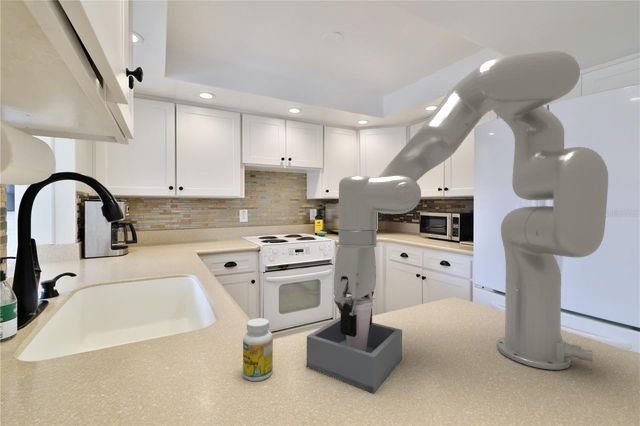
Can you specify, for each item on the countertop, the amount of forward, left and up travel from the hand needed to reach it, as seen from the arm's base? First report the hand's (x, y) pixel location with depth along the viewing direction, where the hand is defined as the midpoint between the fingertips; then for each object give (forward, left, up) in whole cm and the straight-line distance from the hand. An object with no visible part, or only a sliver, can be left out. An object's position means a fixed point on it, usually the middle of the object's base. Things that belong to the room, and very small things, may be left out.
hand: (356, 328), depth 57 cm
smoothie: (0, 0, -4) cm, 4 cm away
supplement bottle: (+13, +14, -7) cm, 21 cm away
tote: (0, 0, -7) cm, 7 cm away
